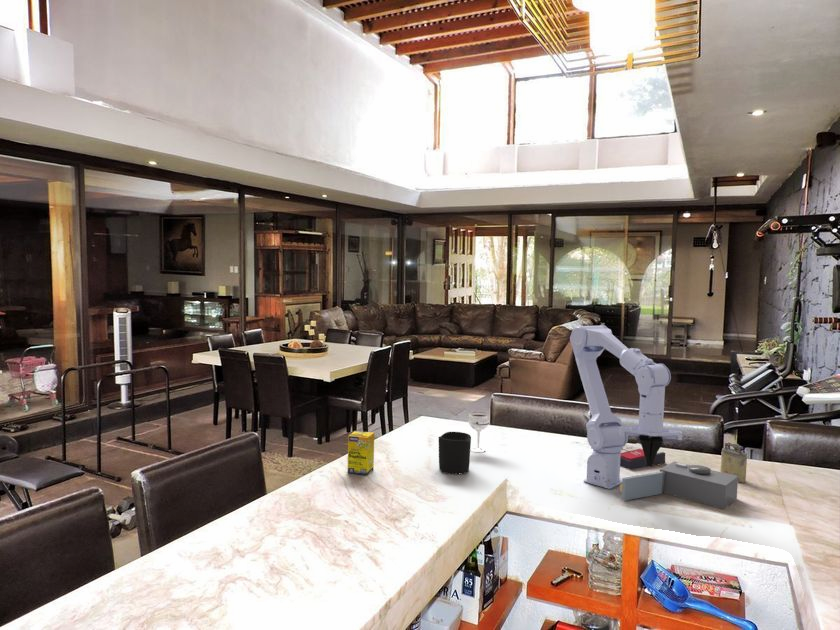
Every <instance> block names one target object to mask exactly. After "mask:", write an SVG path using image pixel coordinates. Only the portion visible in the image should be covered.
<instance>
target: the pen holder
mask: <svg viewBox="0 0 840 630" xmlns="http://www.w3.org/2000/svg"><path fill="white" fill-rule="evenodd" d="M471 443H472V436H471V434H470V433H466V432H461V431H446V432H445V433H443V434H442V435H440V436H438V467H439V471H441V472H442V473H444V472H445V474H448V473H450V475H460V474H459V473H463V474H465V473H464V472H466V473H467V472H468V471H469V469H470V463H471V462H470V460H471Z"/></svg>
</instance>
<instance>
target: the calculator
mask: <svg viewBox="0 0 840 630" xmlns="http://www.w3.org/2000/svg"><path fill="white" fill-rule="evenodd" d="M664 463H665V464H666V452H664V451H662V450H660V449H659V450H658V452H657V454H656V456H655V459H654V462H653V466H658V464H660V465H664ZM620 467H623V468H625V469H628V470H631V471H632V470H636V469H637V470H638V469H641V468H648V466H646V464H645V456H644V452H643V448H642V445H641V443H640V442H638V443H633V444H626V445H625V446H624V447H623V450H622V451H621V456H620Z"/></svg>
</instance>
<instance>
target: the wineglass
mask: <svg viewBox="0 0 840 630" xmlns="http://www.w3.org/2000/svg"><path fill="white" fill-rule="evenodd" d="M468 416H469V418H468V425H469V426H470V427H471V428H472V429H473V430H475V431H476V432H477V433H476V435H477V436H476V437H477V448H476V447H475V448H473V449H474V450H476V451H480V450H482V449H483V448H480V434H481V432H482V431H483V430H485V429H486V428H487V427H488V426H489V425H490V418H489V417H490V413H487V412H484V411H483V412H482V411H473V412H472V411H471V412H469V413H468Z"/></svg>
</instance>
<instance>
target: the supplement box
mask: <svg viewBox="0 0 840 630" xmlns="http://www.w3.org/2000/svg"><path fill="white" fill-rule="evenodd" d="M347 439H348V440H347V474H350V475H351V474H354V475H363V476H368V475H369V474H370V473H371V472H372V471H373V470H374V465H375V463H374V462H375V461H374V459H375V432H370V431H369V432H368V431H360V430H354V431H353V432H352V433H350V434H348V436H347Z"/></svg>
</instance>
